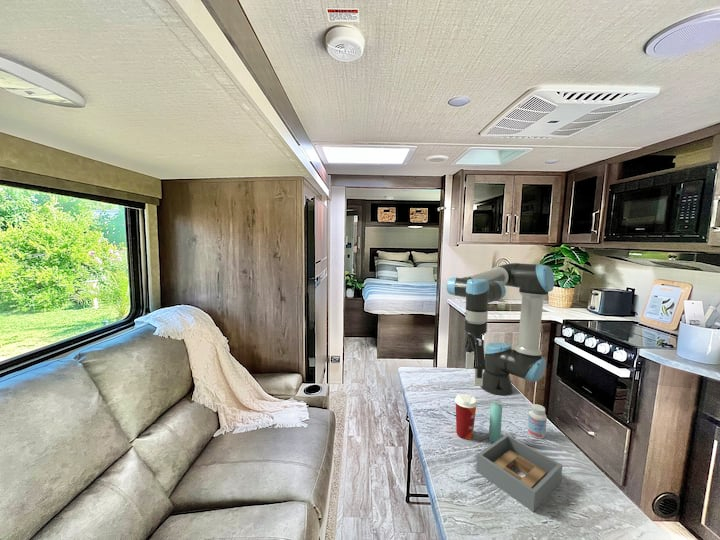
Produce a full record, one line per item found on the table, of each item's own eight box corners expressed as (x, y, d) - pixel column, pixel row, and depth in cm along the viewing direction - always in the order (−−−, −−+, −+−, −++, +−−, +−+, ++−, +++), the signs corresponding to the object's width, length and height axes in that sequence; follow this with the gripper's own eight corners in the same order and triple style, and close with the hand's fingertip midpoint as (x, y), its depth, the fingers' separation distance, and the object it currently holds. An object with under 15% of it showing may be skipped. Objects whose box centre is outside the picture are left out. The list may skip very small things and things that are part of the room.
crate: (505, 449, 109) (506, 433, 108) (560, 482, 94) (562, 464, 94) (476, 471, 99) (477, 454, 98) (533, 512, 84) (534, 492, 83)
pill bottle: (525, 434, 117) (527, 407, 116) (529, 427, 122) (531, 401, 120) (543, 441, 113) (545, 413, 112) (546, 433, 117) (549, 407, 116)
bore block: (509, 457, 105) (509, 449, 104) (546, 480, 95) (546, 471, 95) (490, 472, 98) (490, 464, 98) (527, 499, 88) (528, 490, 88)
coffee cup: (477, 443, 112) (479, 405, 110) (454, 440, 114) (456, 403, 112) (473, 429, 120) (475, 393, 119) (452, 426, 122) (453, 391, 120)
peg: (492, 435, 116) (494, 401, 115) (502, 441, 113) (504, 406, 111) (486, 439, 114) (488, 405, 112) (496, 445, 111) (498, 410, 109)
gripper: (458, 312, 122) (456, 361, 124) (473, 331, 97) (470, 393, 99) (477, 312, 120) (475, 362, 123) (497, 332, 96) (494, 394, 98)
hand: (473, 376), depth 111 cm, fingers open, 13 cm apart
